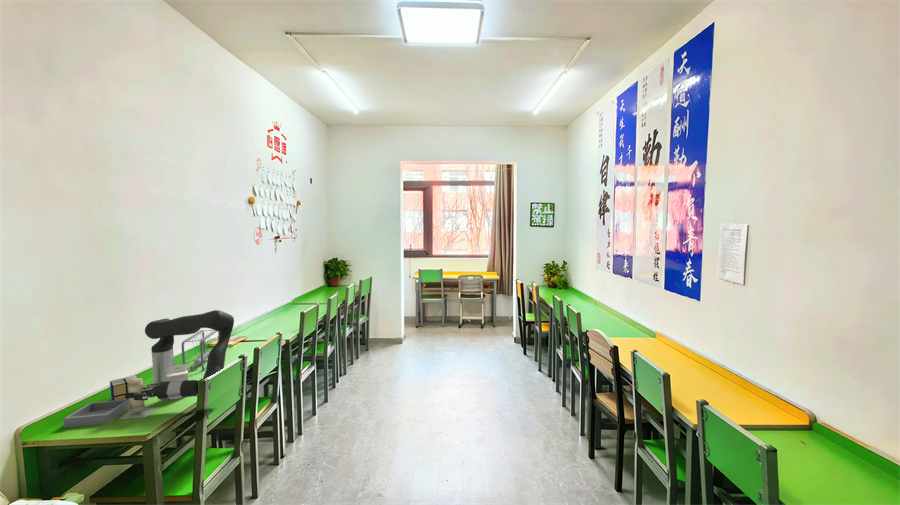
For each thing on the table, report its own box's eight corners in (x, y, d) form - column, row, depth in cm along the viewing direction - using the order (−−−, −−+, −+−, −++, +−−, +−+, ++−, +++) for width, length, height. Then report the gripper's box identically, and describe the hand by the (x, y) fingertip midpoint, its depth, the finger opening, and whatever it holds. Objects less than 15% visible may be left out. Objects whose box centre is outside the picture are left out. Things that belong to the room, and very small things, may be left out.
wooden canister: (134, 407, 181) (132, 378, 181) (147, 406, 182) (144, 377, 181) (127, 412, 176) (125, 382, 176) (140, 411, 177) (138, 381, 176)
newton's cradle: (203, 371, 232) (201, 340, 231) (183, 373, 230) (180, 342, 229) (222, 355, 262) (220, 328, 261) (204, 357, 260) (202, 329, 259)
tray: (91, 411, 184) (90, 402, 183) (131, 407, 186) (130, 398, 186) (64, 428, 168) (63, 418, 168) (108, 424, 170) (107, 414, 170)
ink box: (168, 401, 192) (165, 370, 191) (168, 397, 196) (165, 367, 195) (189, 396, 197) (187, 366, 196) (189, 393, 201) (187, 363, 200)
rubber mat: (132, 410, 183) (132, 409, 183) (157, 407, 185) (157, 406, 185) (118, 420, 174) (118, 419, 174) (144, 417, 175) (144, 416, 175)
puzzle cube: (111, 401, 194) (109, 380, 193) (137, 395, 201) (136, 374, 200) (114, 407, 187) (112, 386, 186) (141, 400, 194) (139, 379, 193)
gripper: (179, 375, 188) (138, 378, 185) (163, 387, 174) (118, 391, 171) (180, 391, 188) (139, 395, 186) (164, 405, 174) (119, 408, 172)
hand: (129, 393), depth 178 cm, fingers closed on wooden canister, 5 cm apart
